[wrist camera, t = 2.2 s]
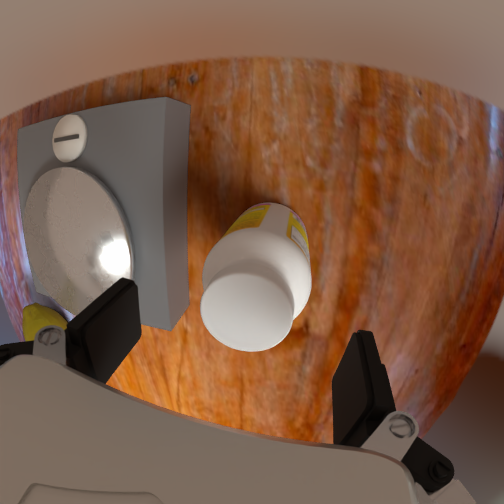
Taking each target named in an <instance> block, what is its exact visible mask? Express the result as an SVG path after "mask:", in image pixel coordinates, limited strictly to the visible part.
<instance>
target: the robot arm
mask: <svg viewBox="0 0 504 504" xmlns="http://www.w3.org/2000/svg"><path fill="white" fill-rule="evenodd" d="M66 326H67V328H66V329H65V330H63V329H62V328H61V327H59V326H56V325H49V326H45V327H43V328H41V329H40V330H38V332H37V333H36V334H35V338H34V340H33V341H25V342H18V343H10V344H4V345H1V346H0V504H477V503H476V502H475V501H474V499H473V498H472V497H471V495H470V494H469V493H468V491H467V490H466V489H465V487H464V486H463V485H462V484H461V482H460V481H459V480H458V479H457V480H456V481H455V480H454V479H453V476H454V467H453V465H452V463H451V461H450V460H449V459H447V458H446V457H445V456H443V455H442V454H441V453H439V452H438V451H436V450H435V449H434V448H432V447H431V446H430V445H428V444H426V443H425V442H424V441H423V440H421V439H420V438H419V437H417V434H418V432H419V426H418V424H417V421H416V420H415V419H414V417H412V416H411V415H410V414H408V413H406V412H402V411H396V408H395V403H394V399H393V395H392V391H391V387H390V383H389V379H388V375H387V371H386V368H385V365H384V364H381V361H380V357H379V353H378V350H377V346H376V343H375V339H374V336H373V333H372V332H371V331H364V330H358V332H357V333H355V332H354V333H353V334H352V336H351V339H350V341H349V343H348V346H347V348H346V350H345V353H344V355H343V357H342V359H341V361H340V364H339V366H338V368H337V370H336V372H335V374H334V376H333V379H332V400H333V442H334V444H326V443H317V442H309V441H301V440H294V439H288V438H281V437H275V436H269V435H264V434H259V433H254V432H249V431H244V430H240V429H235V428H231V427H227V426H223V425H219V424H215V423H211V422H208V421H204V420H201V419H197V418H194V417H191V416H187V415H184V414H181V413H178V412H175V411H172V410H169V409H166V408H163V407H160V406H157V405H155V404H152V403H149V402H147V401H144V400H141V399H139V398H136V397H134V396H131V395H129V394H127V393H124V392H122V391H119V390H117V389H115V388H113V387H110V386H108V385H106V382H107V381H108V380H109V378H110V377H111V376H112V374H113V373H114V372H115V370H116V369H117V368H118V366H119V365H120V364H121V362H122V361H123V360H124V358H125V357H126V356H127V355H128V353H129V352H130V351H131V349H132V348H133V347H134V346H135V344H136V343H137V342H138V340H139V339H140V337H141V333H142V331H141V321H140V310H139V297H138V286H137V285H136V284H135V282H134V281H133V280H131V279H127V278H124V277H122V278H120V279H119V280H118V281H116V282H115V283H114V284H113V285H112V286H110V287H109V288H108V289H107V290H106V291H104V292H103V293H102V294H101V295H100V296H99V297H97V298H96V299H95V300H94V301H93V302H92V303H90V304H89V305H88V306H87V307H86V308H85V309H84V310H82V311H81V312H80V313H79V314H78V315H77V316H76V317H74V318H73V319H72V320H71V321H70V322H69V323H68V324H67V325H66Z"/></svg>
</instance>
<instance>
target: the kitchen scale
mask: <svg viewBox="0 0 504 504" xmlns="http://www.w3.org/2000/svg"><path fill="white" fill-rule="evenodd" d="M190 109H191V105H188V104H185V103H182V102H180V101H177V100H174V99H171V98H168V97H160V98H152V99H144V100H136V101H129V102H123V103H117V104H111V105H106V106H101V107H96V108H91V109H87V110H82V111H78V112H74V113H70V114H66V115H62V116H59V117H55V118H51V119H48V120H45V121H41V122H38V123H35V124H32V125H29V126H26V127H23V128H20V129H18V139H17V166H18V187H19V200H20V209H21V218H22V225H23V232H24V212H25V206H26V202H27V198H28V196H29V193H30V191H31V189H32V187H33V185H34V184H35V182H36V181H37V180H38V179H39V178H40V177H41V176H42V175H43V174H45V173H46V172H48V171H50V170H52V169H56V168H61V167H66V166H71V167H78V168H82V169H84V170H87V171H89V172H90V173H92V174H93V175H95V176H96V177H98V178H99V179H100V180H101V181H102V182H103V183H104V184H105V185H106V186H107V187H108V188H109V189H110V191H111V192H112V193H113V195H114V196H115V198H116V199H117V201H118V203H119V204H120V206H121V208H122V210H123V212H124V214H125V217H126V219H127V221H128V224H129V227H130V230H131V233H132V238H133V242H134V248H135V255H136V273H135V280H134V282H135V284H136V285H137V286H138V297H139V310H140V321H141V324H143V325H147V326H151V327H155V328H159V329H164V330H168V331H172V329H173V328H174V326H175V325H176V324H177V322H178V321H179V319H180V318H181V316H182V315H183V313H184V312H185V311H186V309H187V308H188V306H189V284H188V252H187V177H188V146H189V126H190ZM24 238H25V237H24ZM25 244H26V243H25ZM26 249H27V248H26ZM27 254H28V252H27ZM28 259H29V255H28ZM29 264H30V269H31V273H32V277H33V281H34V285H35V289H36V292H37V293H40V294H43V295H45V296H48V297H51V296H50V294H49V293H48V292H47V291H46V289H45V288H44V286H43V285H42V284H41V282H40V280H39V279H38V277H37V275H36V273H35V271H34V269H33V266H32V264H31V261H30V259H29ZM51 298H52V297H51Z"/></svg>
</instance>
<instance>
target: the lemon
mask: <svg viewBox="0 0 504 504" xmlns="http://www.w3.org/2000/svg"><path fill="white" fill-rule="evenodd" d="M67 324H68V323H67V321H66V320H65V319H64V318H63V317H62V316H61V315H60V314H59V313H57V312H56V311H55V310H53V309H51V308H49V307H45V306H42V305H40V304H38V303H34V304H31V305H28V306H25V307H24V309H23V334H24V338H25V341H33V340H34V338H35V334H36V333H37V332H38V330H40V329H41V328H43V327H45V326H49V325H56V326H59V327H61V328H62V329H63V330H65V329H66V328H67V326H66V325H67Z"/></svg>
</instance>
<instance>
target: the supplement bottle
mask: <svg viewBox="0 0 504 504" xmlns="http://www.w3.org/2000/svg"><path fill="white" fill-rule="evenodd" d="M202 281H203V288H204V292H203V295H202V298H201V303H200V311H201V316H202V320H203V322H204V324H205V326H206V328H207V329H208V331H209V332H210V333H211V334H212V335H213V336H214V337H215V338H216V339H217V340H219V341H220V342H221V343H223V344H224V345H226V346H229V347H231V348H234V349H237V350H241V351H262V350H266V349H269V348H271V347H273V346H275V345H277V344H278V343H280V342H281V341H282V340H283V339H284V338H285V337H286V335H287V334H288V333H289V331H290V329H291V326H292V322H293V319H295V318H296V317H297V316H298V315H299V314H300V312H301V311H302V310H303V308H304V307H305V305H306V303H307V301H308V298H309V295H310V291H311V270H310V258H309V246H308V237H307V232H306V229H305V226H304V224H303V222H302V220H301V219H300V217H299V216H298V215H297V214H296V213H295V212H294V211H292V210H291V209H289V208H288V207H286V206H284V205H281V204H277V203H261V204H257V205H254V206H252V207H250V208H249V209H247V210H246V211H245V212H244V213H242V214H241V215H240V216H239V218H238V219H237V220H236V221H235V222H234V223H233V225H232V226H231V227H230V228H229V229H228V230H227V232H226V233H225V234H224V235H223V236H222V238H221V239H220V240H219V241H218V242H217V243H216V245H215V246H214V247H213V248H212V250H211V251H210V253H209V254H208V256H207V258H206V261H205V263H204V268H203V275H202Z"/></svg>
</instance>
